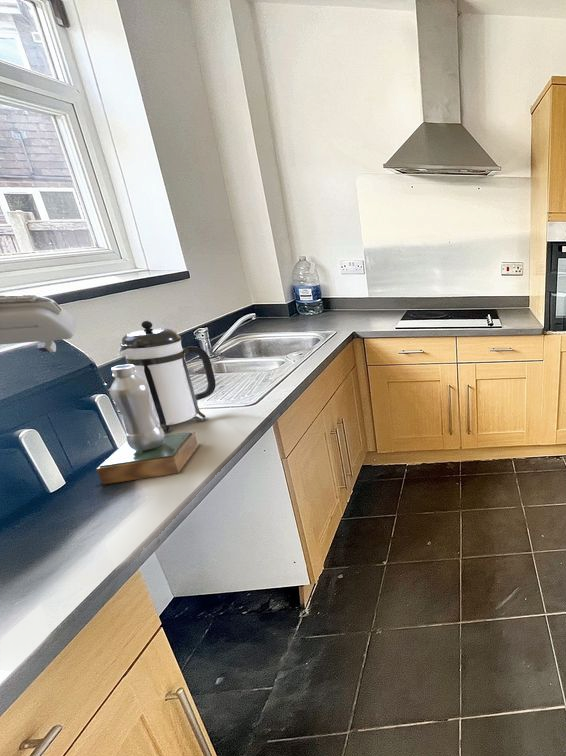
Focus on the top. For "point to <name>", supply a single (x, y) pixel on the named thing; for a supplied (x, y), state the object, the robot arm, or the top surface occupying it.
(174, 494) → the top surface
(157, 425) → the plastic bottle
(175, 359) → the coffee press
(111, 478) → the riser
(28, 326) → the robot arm
